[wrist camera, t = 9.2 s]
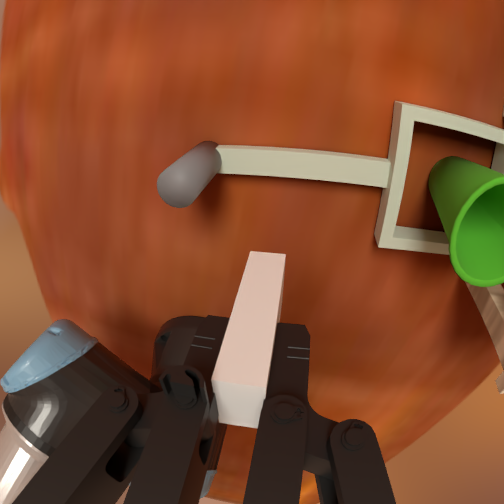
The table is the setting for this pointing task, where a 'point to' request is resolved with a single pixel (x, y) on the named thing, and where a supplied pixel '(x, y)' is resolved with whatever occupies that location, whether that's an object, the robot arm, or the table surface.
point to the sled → (332, 171)
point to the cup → (471, 218)
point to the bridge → (492, 317)
